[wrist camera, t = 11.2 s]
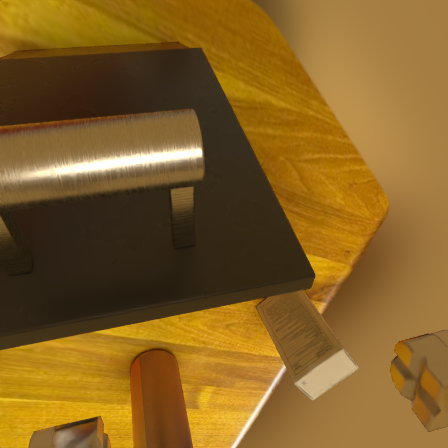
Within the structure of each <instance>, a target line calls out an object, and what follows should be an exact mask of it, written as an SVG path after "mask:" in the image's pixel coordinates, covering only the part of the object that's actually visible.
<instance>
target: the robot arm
mask: <svg viewBox="0 0 448 448" xmlns="http://www.w3.org/2000/svg"><path fill="white" fill-rule="evenodd" d="M394 351H395V353H396V354H397V356H396V357H395V358H394V360H393V361H392V362H391V367H390V373H391V377H392V381H393V383H394V385H395V387H396V388H397V390H398V391H399V392H400V394H401V395H402V396H404V397H405V398H407V399H409V400H411V401H412V410H413V412H414V413H415V414H416V415H417V417H418V419H419V420H420V421H421V423H422V424H423V425H424V427H425V428H426V429H427V431H428V432H430V431H434V430H438V429H441V428H445V427H448V330H442V331H438V332H435V333H431V334H425V335H421V336H417V337H414V338H410V339H406V340H402V341H399V342H398V343H397V344H396V345H395V349H394ZM103 428H104V424H103V421H102V419H101V416H98V417H93V418H89V419H85V420H80V421H76V422H72V423H67V424H63V425H59V426H54V427H50V428H46V429H41V430H37V431H34V433H33V435H32V437H31V439H30V443H29V448H111V445H110V440H109V437H108V435H107V434H105V433H103Z"/></svg>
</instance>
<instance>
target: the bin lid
mask: <svg viewBox="0 0 448 448" xmlns="http://www.w3.org/2000/svg"><path fill="white" fill-rule="evenodd" d="M314 279H315V273H314V271H313V269H312V267H311V265H310V263H309V261H308V259H307V257H306V255H305V253H304V251H303V249H302V247H301V245H300V243H299V241H298V239H297V237H296V235H295V233H294V231H293V229H292V227H291V225H290V223H289V221H288V219H287V217H286V215H285V213H284V211H283V209H282V207H281V205H280V203H279V201H278V199H277V197H276V195H275V193H274V191H273V189H272V187H271V185H270V183H269V181H268V179H267V177H266V175H265V173H264V171H263V169H262V167H261V165H260V163H259V161H258V159H257V157H256V155H255V153H254V151H253V149H252V147H251V145H250V143H249V141H248V139H247V137H246V135H245V133H244V131H243V129H242V127H241V125H240V123H239V121H238V119H237V117H236V115H235V113H234V111H233V109H232V107H231V105H230V104H229V102H228V100H227V98H226V96H225V94H224V92H223V90H222V88H221V86H220V84H219V82H218V80H217V78H216V76H215V74H214V72H213V70H212V68H211V66H210V64H209V62H208V60H207V58H206V56H205V54H204V52H203V50H202V48H186V49H169V50H153V51H136V52H120V53H103V54H86V55H70V56H53V57H37V58H20V59H3V60H0V350H4V349H9V348H14V347H19V346H24V345H29V344H34V343H39V342H44V341H49V340H54V339H59V338H64V337H69V336H75V335H80V334H85V333H90V332H95V331H100V330H105V329H110V328H115V327H120V326H125V325H130V324H135V323H140V322H145V321H150V320H155V319H160V318H165V317H170V316H175V315H180V314H185V313H190V312H195V311H200V310H206V309H211V308H216V307H221V306H226V305H231V304H236V303H241V302H246V301H251V300H256V299H261V298H266V297H271V296H276V295H281V294H286V293H291V292H296V291H301V290H306V289H310V288H311V287H312V284H313V281H314Z"/></svg>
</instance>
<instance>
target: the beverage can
mask: <svg viewBox="0 0 448 448" xmlns="http://www.w3.org/2000/svg"><path fill="white" fill-rule="evenodd" d="M130 383H131V403H132V424H133V444H134V448H193V444H192V439H191V433H190V428H189V423H188V417H187V412H186V406H185V401H184V396H183V390H182V385H181V379H180V374H179V368H178V363H177V360H176V359H175V357H173V356H172V355H171V354H170V353H168V352H166V351H162V350H152V351H148V352H145V353H143V354H142V355H140V356H139V357H138V358H137V359H136V360H135V361H134V363H133V364H132V366H131V369H130Z"/></svg>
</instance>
